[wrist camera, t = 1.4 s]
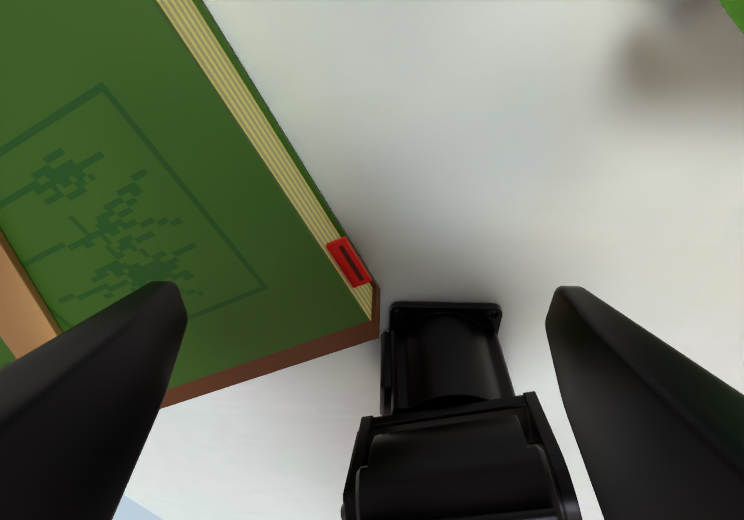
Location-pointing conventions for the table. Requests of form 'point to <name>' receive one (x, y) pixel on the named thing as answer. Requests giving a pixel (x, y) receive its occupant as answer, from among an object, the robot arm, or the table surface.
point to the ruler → (21, 307)
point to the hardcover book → (168, 189)
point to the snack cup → (735, 11)
